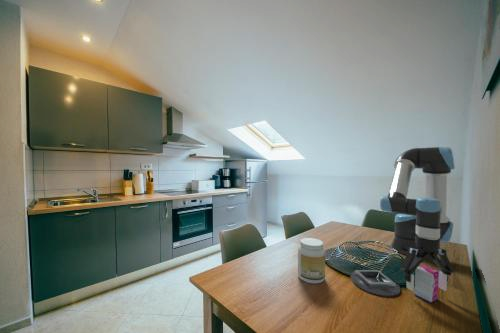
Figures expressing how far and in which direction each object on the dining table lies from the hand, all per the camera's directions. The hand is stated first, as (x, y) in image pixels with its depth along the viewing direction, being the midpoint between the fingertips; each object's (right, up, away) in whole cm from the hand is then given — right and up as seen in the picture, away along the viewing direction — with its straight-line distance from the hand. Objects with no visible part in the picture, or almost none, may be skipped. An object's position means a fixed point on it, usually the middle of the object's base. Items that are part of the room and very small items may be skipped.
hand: (426, 289), depth 83 cm
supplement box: (0, -4, 0) cm, 4 cm away
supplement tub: (-43, -3, +13) cm, 45 cm away
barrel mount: (-15, -3, +9) cm, 18 cm away
